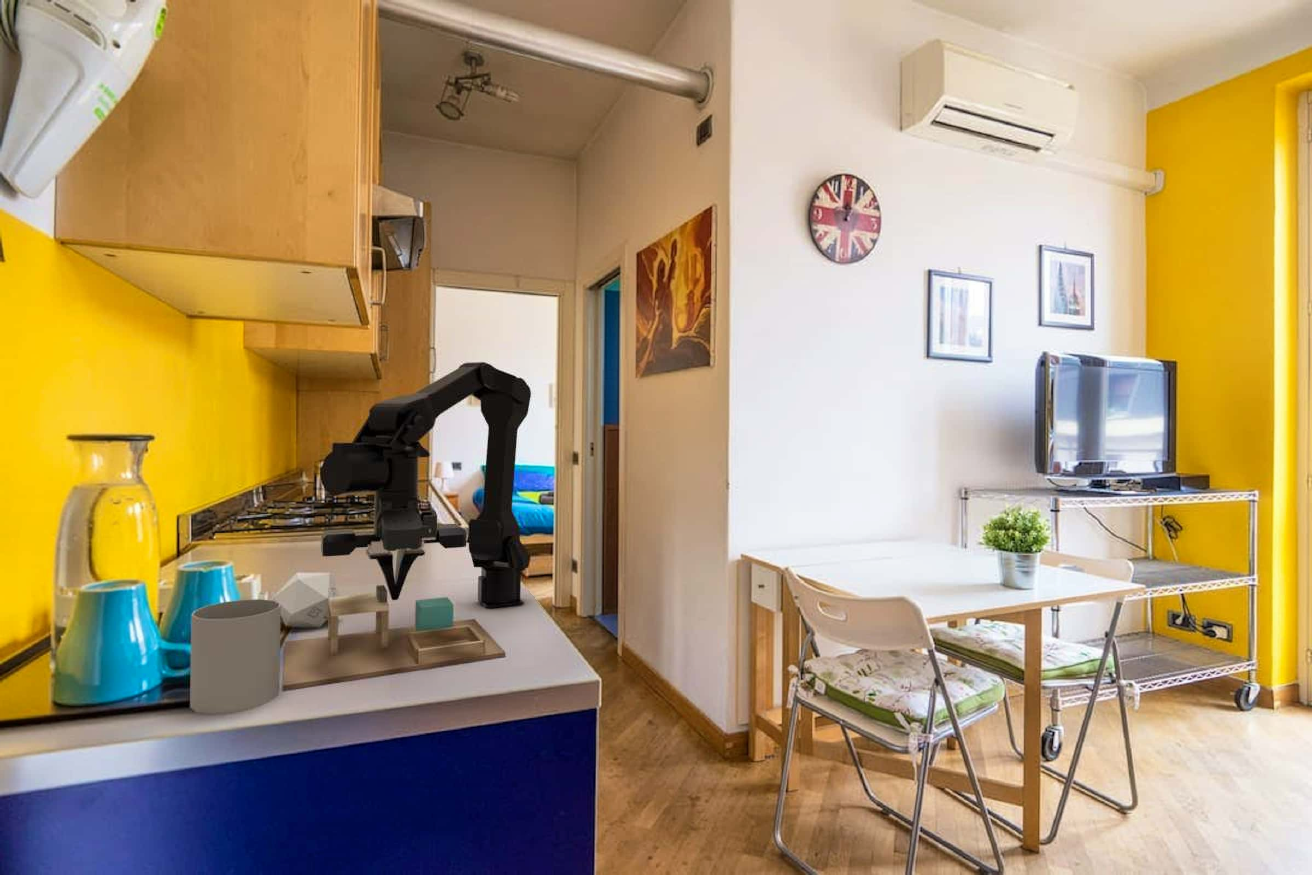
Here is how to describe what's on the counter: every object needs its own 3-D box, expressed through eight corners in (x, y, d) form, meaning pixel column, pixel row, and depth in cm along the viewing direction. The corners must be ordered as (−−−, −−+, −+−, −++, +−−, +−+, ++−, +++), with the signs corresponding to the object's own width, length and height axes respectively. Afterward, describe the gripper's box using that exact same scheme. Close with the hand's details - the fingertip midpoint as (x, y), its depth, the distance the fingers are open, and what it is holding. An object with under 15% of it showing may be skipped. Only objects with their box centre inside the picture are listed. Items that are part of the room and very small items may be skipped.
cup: (296, 687, 76) (297, 602, 76) (237, 717, 68) (238, 622, 68) (235, 680, 78) (236, 597, 78) (170, 708, 70) (172, 615, 70)
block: (446, 626, 98) (446, 597, 98) (452, 635, 94) (453, 604, 94) (415, 630, 96) (415, 600, 96) (420, 639, 92) (420, 607, 92)
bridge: (381, 631, 95) (382, 582, 95) (388, 646, 89) (389, 594, 89) (328, 637, 92) (328, 587, 92) (330, 654, 85) (331, 599, 85)
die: (293, 641, 94) (339, 584, 97) (249, 608, 96) (296, 553, 98) (320, 644, 102) (361, 591, 105) (278, 613, 103) (321, 562, 106)
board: (474, 622, 103) (474, 607, 103) (505, 656, 88) (505, 638, 88) (284, 646, 90) (285, 628, 90) (283, 690, 75) (283, 669, 75)
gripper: (325, 497, 81) (323, 622, 81) (476, 493, 90) (474, 605, 90) (321, 489, 90) (319, 601, 91) (458, 486, 100) (456, 588, 100)
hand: (394, 599), depth 93 cm, fingers closed
